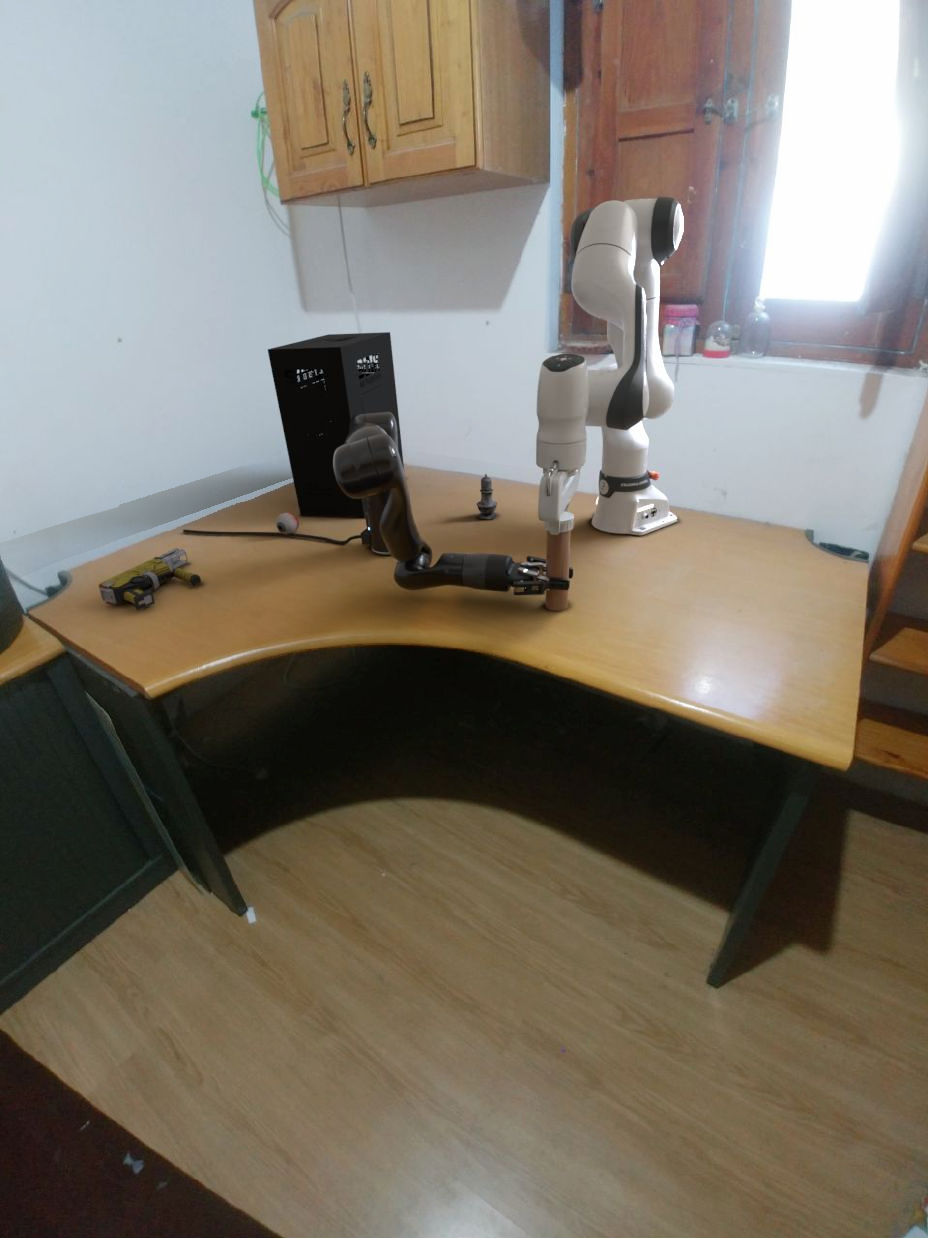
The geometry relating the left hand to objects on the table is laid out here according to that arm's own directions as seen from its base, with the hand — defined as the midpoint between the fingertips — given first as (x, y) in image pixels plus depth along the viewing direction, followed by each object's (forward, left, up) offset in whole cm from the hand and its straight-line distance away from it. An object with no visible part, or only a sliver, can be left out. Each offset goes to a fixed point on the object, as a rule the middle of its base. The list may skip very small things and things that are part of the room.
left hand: (570, 578), depth 119 cm
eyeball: (-83, -11, -6) cm, 84 cm away
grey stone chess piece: (-47, +30, -6) cm, 56 cm away
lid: (-2, -1, +13) cm, 13 cm away
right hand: (-2, -1, +11) cm, 11 cm away
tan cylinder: (-2, -1, -6) cm, 7 cm away
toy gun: (-80, -47, -6) cm, 93 cm away
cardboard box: (-94, +21, -6) cm, 96 cm away
